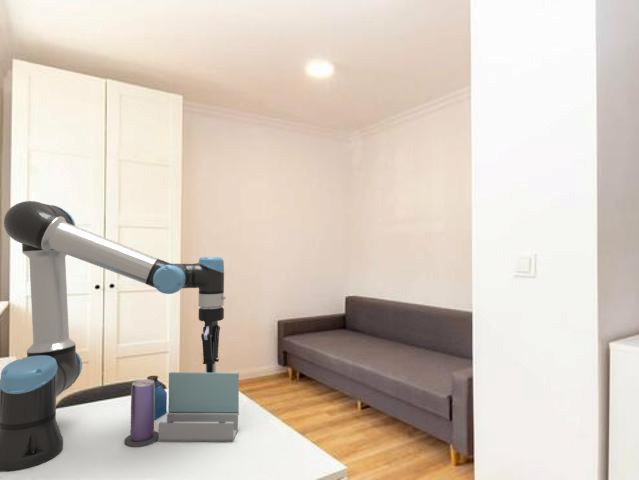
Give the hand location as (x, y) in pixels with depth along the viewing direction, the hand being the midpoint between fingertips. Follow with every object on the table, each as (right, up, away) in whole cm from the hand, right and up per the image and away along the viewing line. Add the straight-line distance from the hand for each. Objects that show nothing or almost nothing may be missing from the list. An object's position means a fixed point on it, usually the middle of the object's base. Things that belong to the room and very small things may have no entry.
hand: (210, 384), depth 124 cm
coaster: (-15, -10, -13) cm, 23 cm away
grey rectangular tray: (0, -10, -11) cm, 15 cm away
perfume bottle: (-19, -11, +3) cm, 22 cm away
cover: (0, 0, -8) cm, 8 cm away
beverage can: (-15, -10, -13) cm, 23 cm away
